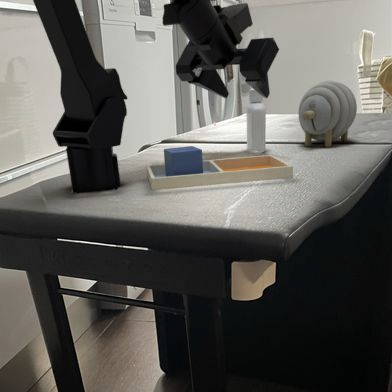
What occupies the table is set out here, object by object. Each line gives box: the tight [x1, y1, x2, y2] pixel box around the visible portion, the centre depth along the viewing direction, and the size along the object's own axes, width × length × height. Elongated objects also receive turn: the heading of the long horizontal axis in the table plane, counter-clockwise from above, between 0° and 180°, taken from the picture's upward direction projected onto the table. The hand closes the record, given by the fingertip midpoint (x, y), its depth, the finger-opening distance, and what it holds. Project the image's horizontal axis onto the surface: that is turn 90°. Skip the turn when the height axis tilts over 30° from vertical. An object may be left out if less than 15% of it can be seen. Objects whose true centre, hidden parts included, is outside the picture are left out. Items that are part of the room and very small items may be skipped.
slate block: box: [163, 145, 204, 177], centre depth 79 cm, size 4×4×4 cm
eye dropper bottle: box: [246, 87, 267, 153], centre depth 101 cm, size 4×6×12 cm
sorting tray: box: [145, 154, 294, 191], centre depth 81 cm, size 20×11×2 cm, turn 99°
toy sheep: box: [298, 80, 358, 148], centre depth 104 cm, size 11×17×11 cm, turn 148°
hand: (246, 96), depth 98 cm, fingers open, 9 cm apart
